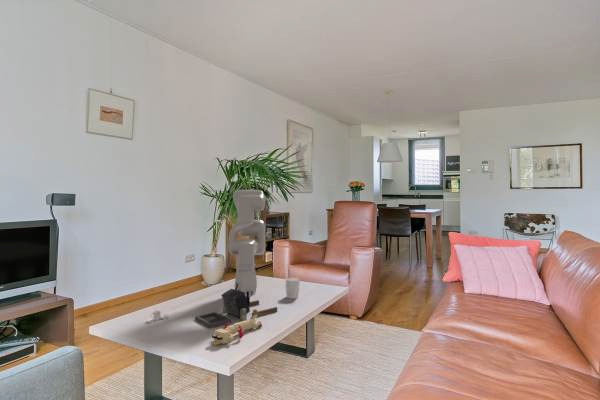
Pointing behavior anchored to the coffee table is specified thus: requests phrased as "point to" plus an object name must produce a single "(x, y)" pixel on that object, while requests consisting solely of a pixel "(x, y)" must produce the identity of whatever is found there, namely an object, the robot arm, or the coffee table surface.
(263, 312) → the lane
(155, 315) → the teacup and saucer
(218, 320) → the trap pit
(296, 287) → the white cup
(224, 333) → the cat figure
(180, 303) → the coffee table surface
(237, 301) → the small box
